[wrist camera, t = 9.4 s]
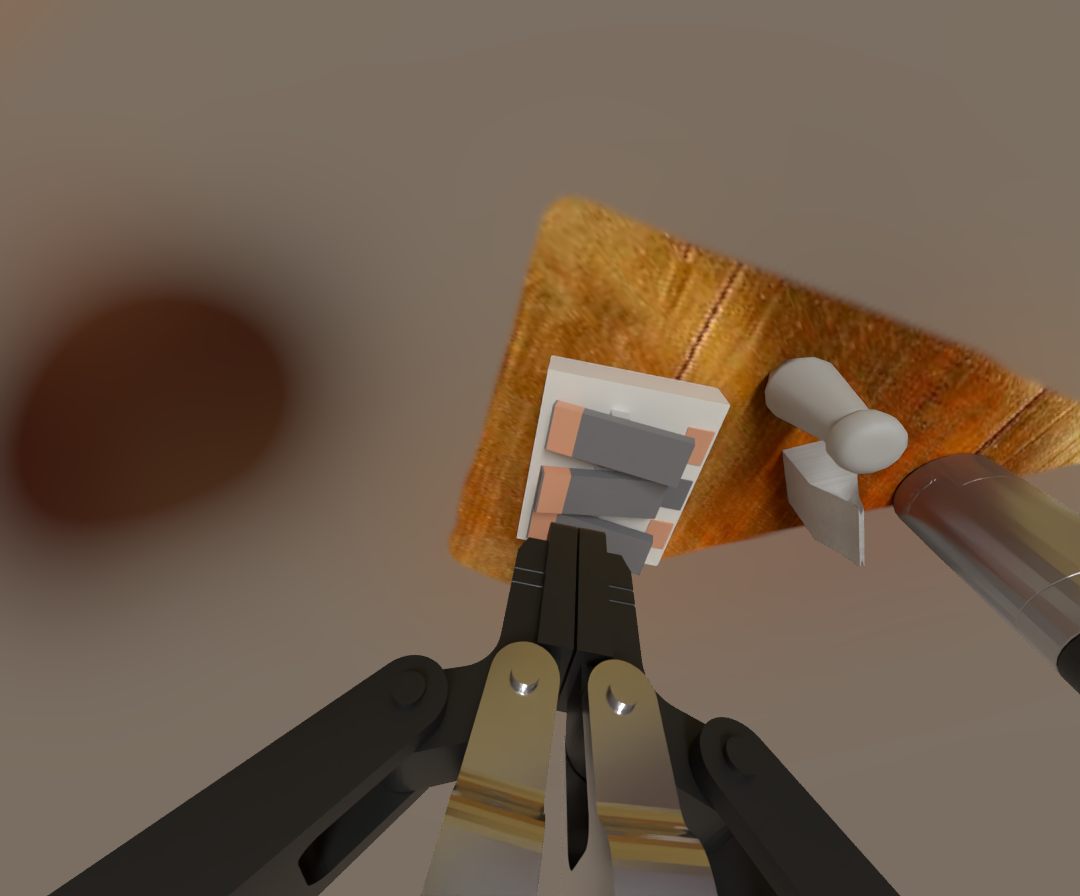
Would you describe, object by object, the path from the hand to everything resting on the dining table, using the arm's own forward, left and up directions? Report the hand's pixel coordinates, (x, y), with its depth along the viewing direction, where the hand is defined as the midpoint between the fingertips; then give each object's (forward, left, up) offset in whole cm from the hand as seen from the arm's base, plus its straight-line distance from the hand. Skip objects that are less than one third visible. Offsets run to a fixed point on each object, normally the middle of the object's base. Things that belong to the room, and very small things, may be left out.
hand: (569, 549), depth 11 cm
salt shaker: (-20, +2, -29) cm, 35 cm away
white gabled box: (-26, +11, -29) cm, 41 cm away
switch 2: (-5, +14, -22) cm, 27 cm away
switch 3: (-5, +20, -22) cm, 30 cm away
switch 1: (-5, +9, -22) cm, 25 cm away
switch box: (-6, +14, -29) cm, 33 cm away
